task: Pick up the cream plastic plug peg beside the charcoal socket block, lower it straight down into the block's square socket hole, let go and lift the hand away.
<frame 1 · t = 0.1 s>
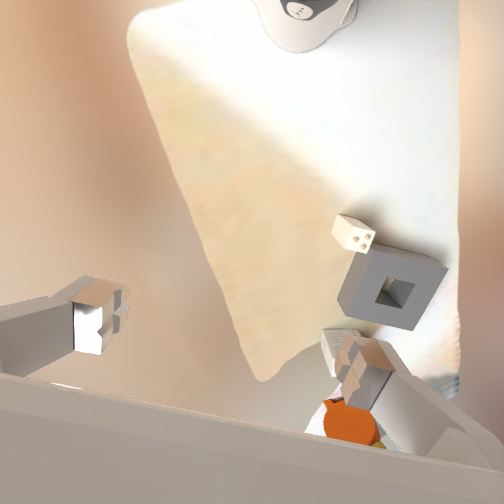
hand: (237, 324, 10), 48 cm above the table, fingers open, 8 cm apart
small box: (336, 336, 68), on the table
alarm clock: (342, 402, 76), on the table
socket block: (380, 278, 61), on the table
plug peg: (343, 226, 57), on the table
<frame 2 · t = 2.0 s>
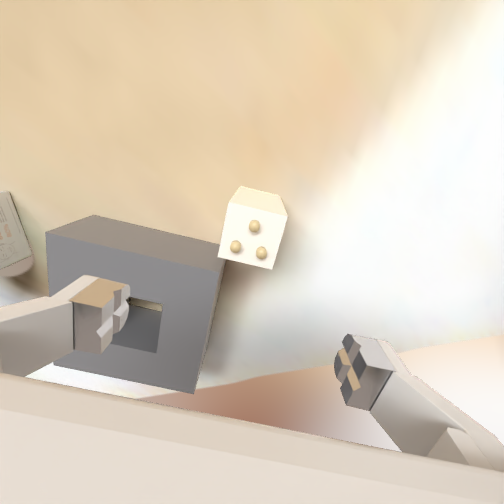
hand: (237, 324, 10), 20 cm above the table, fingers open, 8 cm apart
small box: (2, 224, 31), on the table
socket block: (155, 289, 33), on the table
plug peg: (255, 210, 29), on the table
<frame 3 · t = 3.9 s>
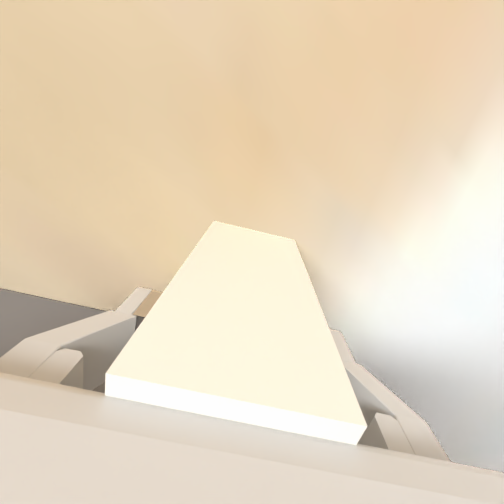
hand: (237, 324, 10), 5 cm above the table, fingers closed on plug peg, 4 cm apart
socket block: (69, 395, 18), on the table
plug peg: (245, 267, 14), on the table, touching gripper
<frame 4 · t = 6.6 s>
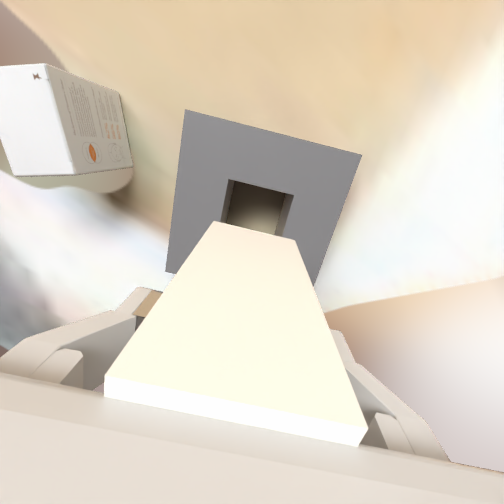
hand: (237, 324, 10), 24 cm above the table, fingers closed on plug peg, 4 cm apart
small box: (105, 133, 30), on the table
socket block: (256, 205, 32), on the table
plug peg: (245, 267, 14), point 19 cm above the table, touching gripper
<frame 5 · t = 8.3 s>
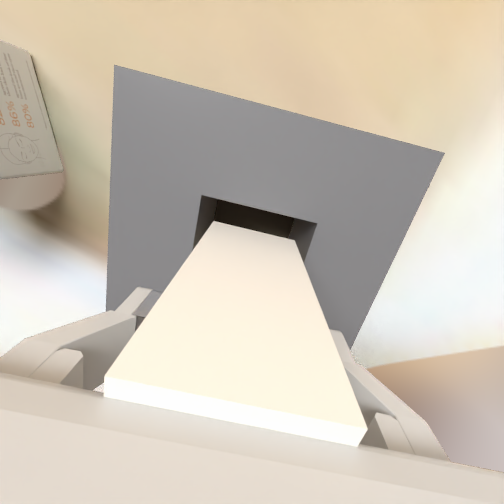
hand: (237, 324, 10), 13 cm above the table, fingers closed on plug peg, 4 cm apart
small box: (17, 119, 19), on the table
socket block: (251, 229, 21), on the table
plug peg: (245, 267, 14), point 8 cm above the table, touching gripper
when the fingers open (8 cm above the table, at t = 9.6 s): plug peg drops 3 cm, resting in socket block.
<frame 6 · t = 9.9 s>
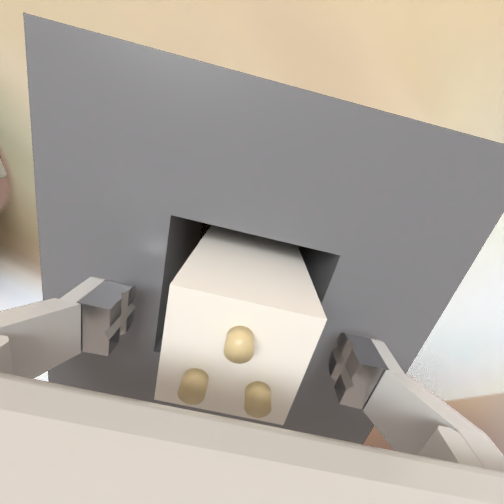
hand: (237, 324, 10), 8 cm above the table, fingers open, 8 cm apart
socket block: (247, 248, 17), on the table
plug peg: (248, 248, 17), resting in socket block
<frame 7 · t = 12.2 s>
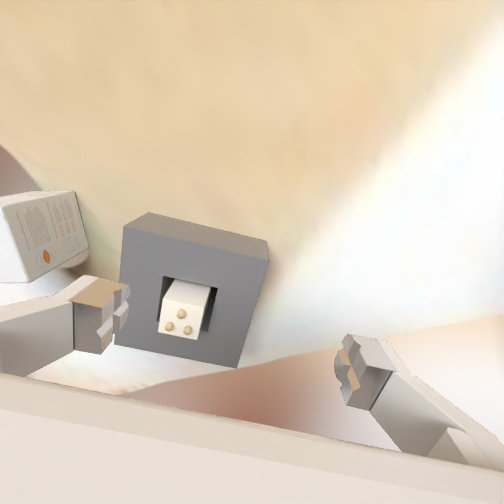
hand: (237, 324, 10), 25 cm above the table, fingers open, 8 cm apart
small box: (63, 220, 34), on the table
socket block: (198, 278, 37), on the table
plug peg: (198, 278, 37), resting in socket block
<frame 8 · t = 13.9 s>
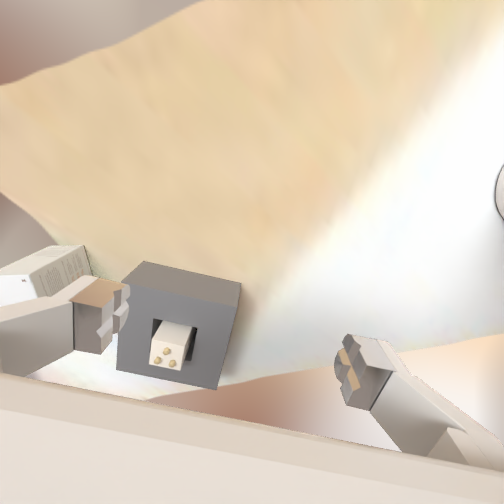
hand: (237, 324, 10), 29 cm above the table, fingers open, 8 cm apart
small box: (75, 267, 42), on the table
socket block: (185, 312, 44), on the table
plug peg: (186, 312, 44), resting in socket block
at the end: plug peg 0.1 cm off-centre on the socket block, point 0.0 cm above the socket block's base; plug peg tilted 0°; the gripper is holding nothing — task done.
